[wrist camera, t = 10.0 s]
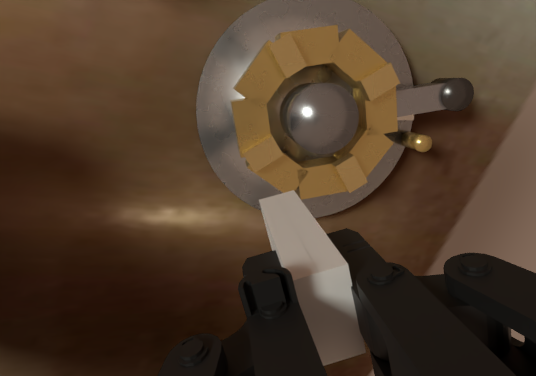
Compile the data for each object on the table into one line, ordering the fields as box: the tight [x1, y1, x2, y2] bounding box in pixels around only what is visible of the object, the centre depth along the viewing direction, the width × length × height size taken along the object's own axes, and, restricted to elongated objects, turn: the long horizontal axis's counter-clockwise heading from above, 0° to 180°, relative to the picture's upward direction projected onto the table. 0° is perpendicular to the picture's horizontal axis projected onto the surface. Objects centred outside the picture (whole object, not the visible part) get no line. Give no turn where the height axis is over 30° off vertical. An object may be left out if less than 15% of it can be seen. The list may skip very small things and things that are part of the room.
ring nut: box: [230, 25, 474, 200], centre depth 35 cm, size 22×15×4 cm, turn 98°
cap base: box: [196, 0, 432, 218], centre depth 35 cm, size 22×22×8 cm
